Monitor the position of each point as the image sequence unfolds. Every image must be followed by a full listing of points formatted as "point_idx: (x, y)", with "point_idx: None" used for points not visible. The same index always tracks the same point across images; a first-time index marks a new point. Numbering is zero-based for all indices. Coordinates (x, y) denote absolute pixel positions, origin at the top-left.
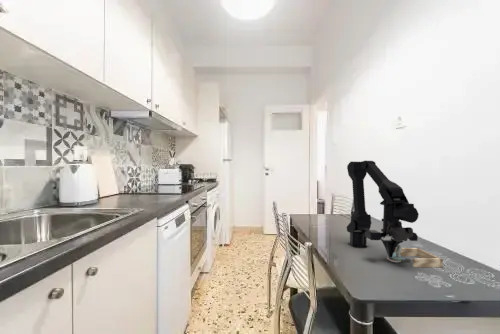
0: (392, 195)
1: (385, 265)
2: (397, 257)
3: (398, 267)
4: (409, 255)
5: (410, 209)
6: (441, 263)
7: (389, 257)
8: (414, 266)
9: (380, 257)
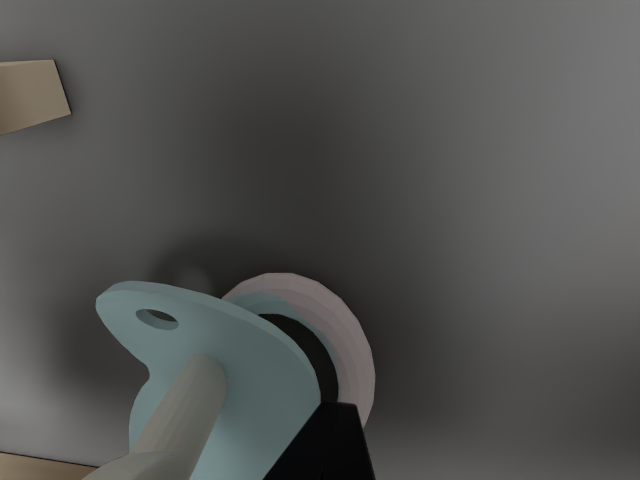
0: None
1: (622, 162)
2: (213, 385)
3: (392, 35)
4: (19, 460)
5: None
6: None
7: None
8: (44, 66)
9: (410, 476)
